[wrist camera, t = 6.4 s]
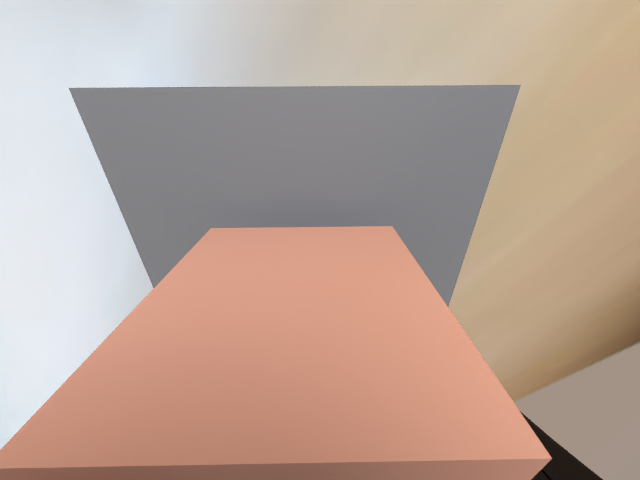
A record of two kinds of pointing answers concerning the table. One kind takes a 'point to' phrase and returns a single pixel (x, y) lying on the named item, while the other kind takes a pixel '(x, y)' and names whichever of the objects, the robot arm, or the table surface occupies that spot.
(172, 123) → the plinth
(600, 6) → the table surface
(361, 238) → the salmon pink cube
